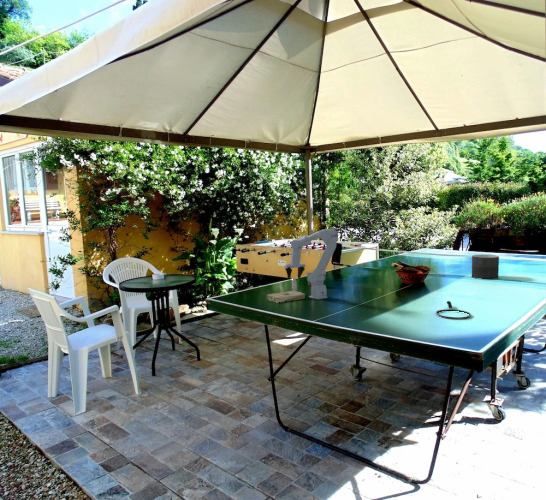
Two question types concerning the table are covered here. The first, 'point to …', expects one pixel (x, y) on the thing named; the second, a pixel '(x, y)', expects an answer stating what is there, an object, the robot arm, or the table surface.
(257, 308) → the table surface
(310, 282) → the food container
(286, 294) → the hole block
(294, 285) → the steel peg
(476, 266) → the planter
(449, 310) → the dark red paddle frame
